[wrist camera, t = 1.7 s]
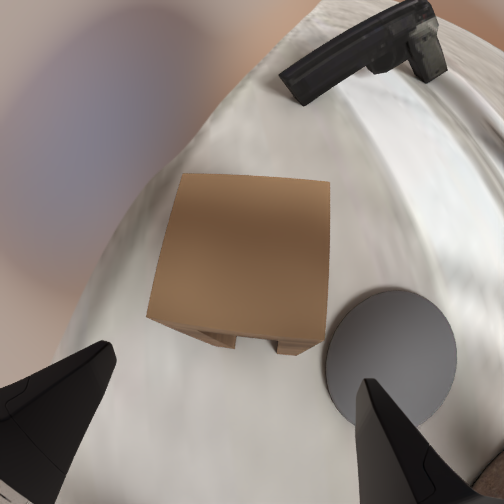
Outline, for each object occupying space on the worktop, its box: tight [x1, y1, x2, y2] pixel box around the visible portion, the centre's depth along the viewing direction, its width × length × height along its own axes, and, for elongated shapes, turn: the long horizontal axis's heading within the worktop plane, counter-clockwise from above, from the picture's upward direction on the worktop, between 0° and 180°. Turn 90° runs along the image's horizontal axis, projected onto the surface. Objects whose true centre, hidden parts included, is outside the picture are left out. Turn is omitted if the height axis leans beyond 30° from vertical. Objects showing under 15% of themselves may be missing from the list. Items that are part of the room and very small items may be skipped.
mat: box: [326, 291, 457, 427], centre depth 18 cm, size 11×11×1 cm
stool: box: [146, 173, 330, 356], centre depth 15 cm, size 6×6×12 cm
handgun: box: [279, 0, 448, 106], centre depth 28 cm, size 2×24×15 cm, turn 113°
